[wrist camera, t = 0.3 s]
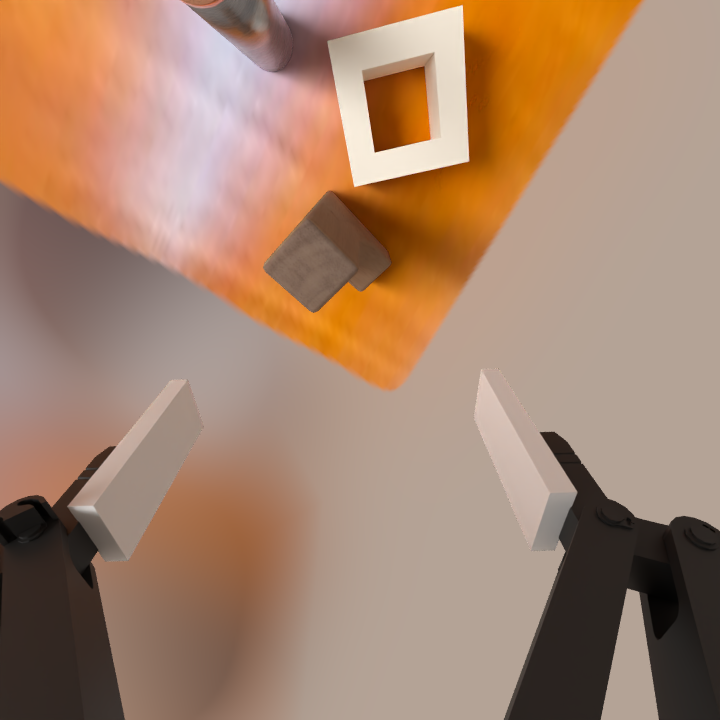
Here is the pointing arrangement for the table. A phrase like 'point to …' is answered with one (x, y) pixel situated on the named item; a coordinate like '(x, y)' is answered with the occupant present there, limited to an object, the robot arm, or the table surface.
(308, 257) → the wooden block
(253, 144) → the table surface
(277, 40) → the peg
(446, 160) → the socket
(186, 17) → the table surface
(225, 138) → the table surface
